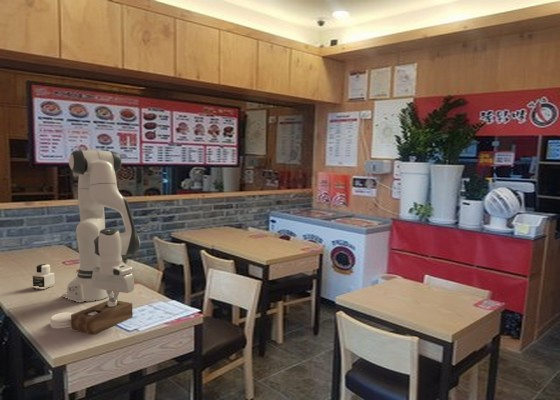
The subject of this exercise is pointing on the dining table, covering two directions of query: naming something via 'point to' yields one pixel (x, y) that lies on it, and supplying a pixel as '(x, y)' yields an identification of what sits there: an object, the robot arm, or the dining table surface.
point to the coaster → (61, 320)
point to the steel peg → (112, 303)
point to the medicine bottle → (43, 276)
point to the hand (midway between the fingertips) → (113, 300)
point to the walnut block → (101, 317)
